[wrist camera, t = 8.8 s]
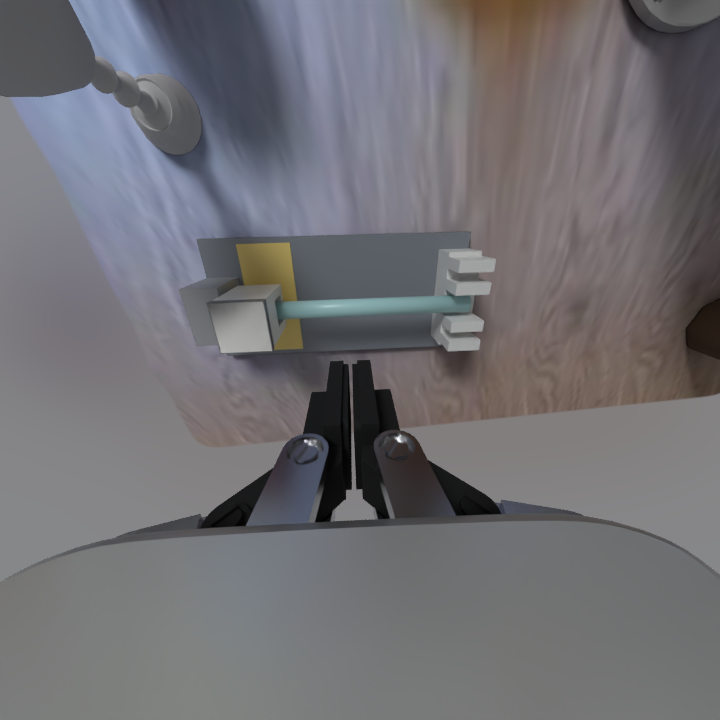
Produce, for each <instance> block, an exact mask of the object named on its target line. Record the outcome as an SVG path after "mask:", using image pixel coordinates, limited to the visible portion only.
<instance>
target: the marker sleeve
mask: <svg viewBox="0 0 720 720" xmlns="http://www.w3.org/2000/svg"><path fill="white" fill-rule="evenodd" d="M275 302H283V296H282V289H281V284H269V285H240V286H236V287H235V288H233V289H231V290H230V291H228V292H226V293H224V294H223V295H221V296H219V297H218V298H216V299H214V300H213V301H209V302H207V306H208V310H209V313H210V317H211V321H212V324H213V328H214V331H215V335H216V338H217V342H218V346H219V349H220V353H221V354H228V353H249V352H271V351H273V350H274V349H275V348H274V347H275V345H276V343H277V341H278V339H279V338H280V336H281V334H282V332H283V330H284V328H285V327H286V325H287V322H286V319H278V318H277V312H276V306H275Z"/></svg>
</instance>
